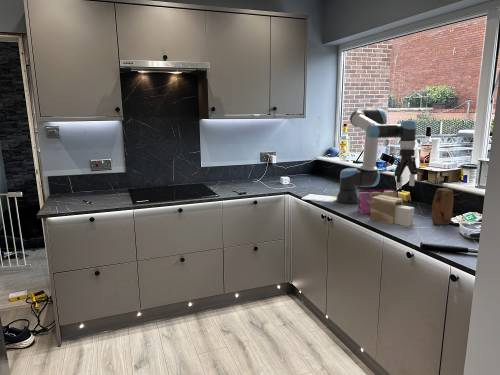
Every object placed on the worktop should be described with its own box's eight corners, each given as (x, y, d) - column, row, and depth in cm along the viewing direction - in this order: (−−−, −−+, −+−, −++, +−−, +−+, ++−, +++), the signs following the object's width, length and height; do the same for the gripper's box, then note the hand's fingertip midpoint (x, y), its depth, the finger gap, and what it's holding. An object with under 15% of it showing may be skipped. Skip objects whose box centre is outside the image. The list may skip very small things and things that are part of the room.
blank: (383, 218, 225) (384, 202, 223) (412, 224, 212) (414, 207, 209) (378, 220, 221) (379, 203, 219) (408, 226, 208) (409, 209, 206)
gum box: (359, 214, 233) (361, 192, 230) (355, 210, 241) (356, 190, 238) (396, 212, 236) (398, 191, 233) (390, 209, 243) (392, 189, 241)
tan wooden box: (379, 215, 229) (380, 194, 226) (401, 220, 219) (402, 198, 216) (370, 219, 222) (371, 197, 219) (392, 224, 212) (394, 201, 209)
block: (440, 220, 219) (443, 187, 215) (452, 223, 212) (456, 189, 208) (428, 223, 214) (431, 188, 209) (440, 226, 207) (444, 191, 203)
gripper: (401, 149, 194) (399, 190, 197) (425, 148, 210) (423, 185, 213) (388, 149, 200) (386, 188, 203) (412, 147, 215) (410, 184, 219)
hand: (405, 187), depth 208 cm, fingers open, 13 cm apart
